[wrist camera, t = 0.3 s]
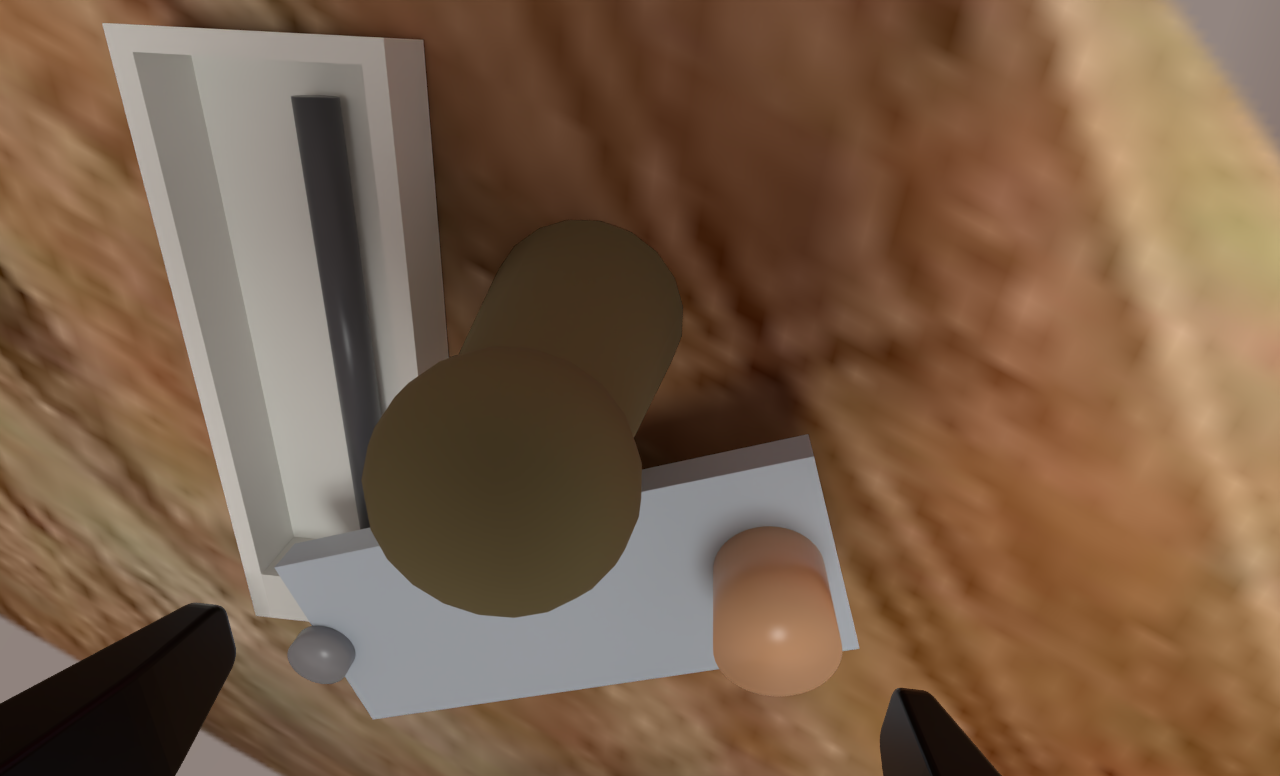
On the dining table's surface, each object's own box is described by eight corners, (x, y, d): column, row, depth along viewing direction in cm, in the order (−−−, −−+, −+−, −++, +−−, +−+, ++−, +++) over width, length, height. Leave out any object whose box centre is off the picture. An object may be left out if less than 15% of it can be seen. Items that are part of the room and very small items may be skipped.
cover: (363, 695, 26) (304, 804, 22) (269, 548, 23) (183, 644, 19) (852, 619, 22) (880, 735, 18) (808, 434, 19) (831, 525, 16)
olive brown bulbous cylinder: (484, 383, 23) (311, 633, 13) (498, 200, 20) (295, 341, 10) (663, 419, 23) (625, 698, 13) (702, 241, 20) (691, 421, 10)
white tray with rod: (467, 587, 27) (444, 636, 25) (293, 569, 27) (255, 615, 25) (423, 39, 19) (383, 37, 16) (174, 26, 19) (102, 23, 17)
